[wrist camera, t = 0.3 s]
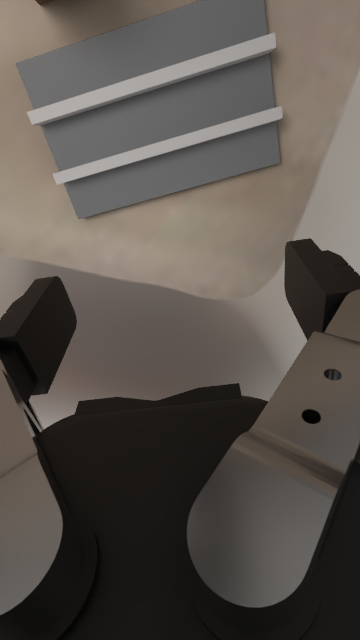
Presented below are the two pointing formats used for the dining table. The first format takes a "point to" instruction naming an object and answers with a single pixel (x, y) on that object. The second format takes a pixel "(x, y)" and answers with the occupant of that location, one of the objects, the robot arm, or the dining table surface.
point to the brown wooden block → (42, 1)
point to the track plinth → (158, 104)
